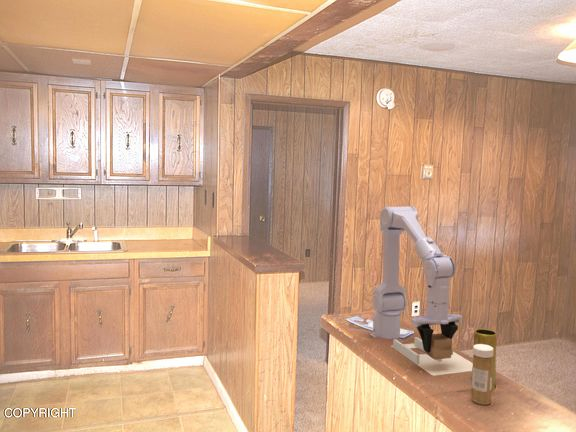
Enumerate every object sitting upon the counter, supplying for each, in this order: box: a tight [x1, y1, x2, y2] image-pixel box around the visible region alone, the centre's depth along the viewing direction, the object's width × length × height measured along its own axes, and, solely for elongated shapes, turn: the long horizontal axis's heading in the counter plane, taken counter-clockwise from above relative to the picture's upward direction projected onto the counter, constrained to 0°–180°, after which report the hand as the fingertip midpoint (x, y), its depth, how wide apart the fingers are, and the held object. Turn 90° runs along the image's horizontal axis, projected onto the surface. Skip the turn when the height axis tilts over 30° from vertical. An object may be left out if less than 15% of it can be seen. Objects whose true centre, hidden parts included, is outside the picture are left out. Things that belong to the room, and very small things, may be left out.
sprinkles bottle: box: [471, 344, 494, 406], centre depth 121 cm, size 5×5×14 cm
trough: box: [392, 336, 442, 365], centre depth 148 cm, size 14×8×2 cm, turn 16°
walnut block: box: [423, 332, 453, 360], centre depth 137 cm, size 5×5×5 cm
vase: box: [471, 328, 498, 391], centre depth 129 cm, size 6×6×14 cm
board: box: [391, 342, 473, 377], centre depth 146 cm, size 23×16×2 cm
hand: (435, 350), depth 138 cm, fingers closed on walnut block, 5 cm apart
